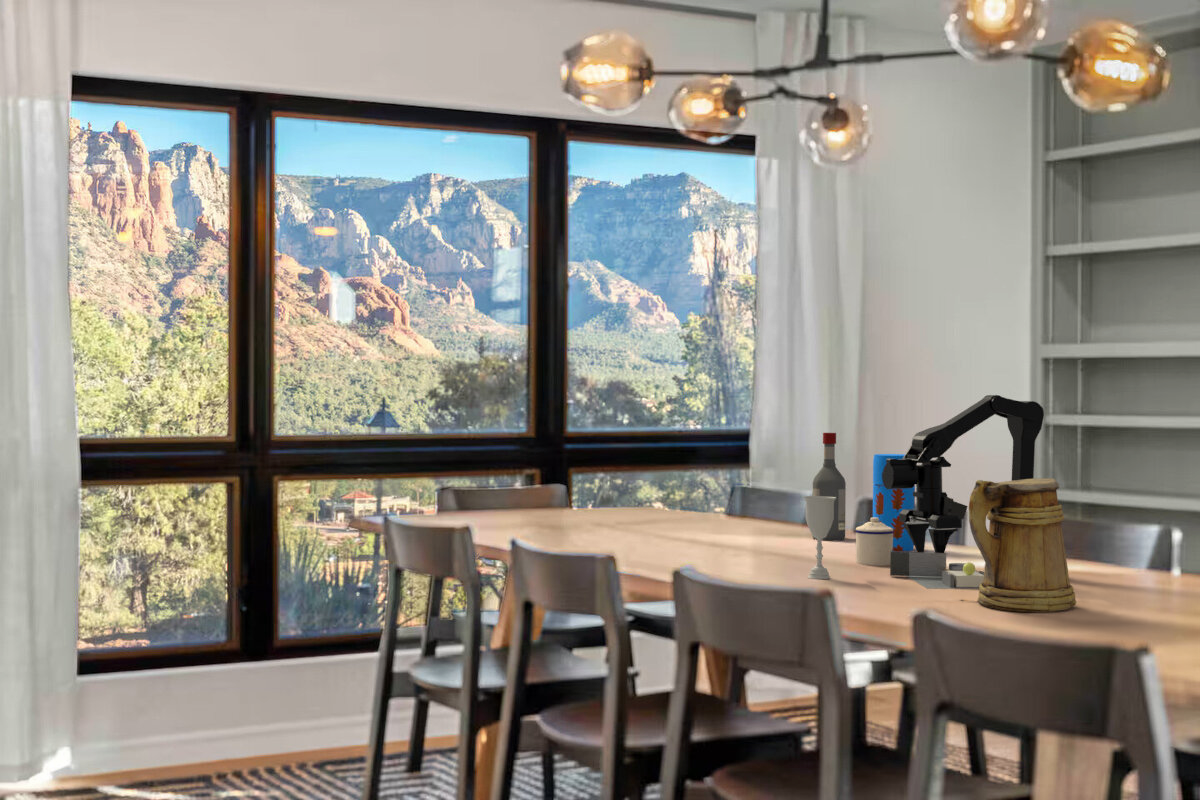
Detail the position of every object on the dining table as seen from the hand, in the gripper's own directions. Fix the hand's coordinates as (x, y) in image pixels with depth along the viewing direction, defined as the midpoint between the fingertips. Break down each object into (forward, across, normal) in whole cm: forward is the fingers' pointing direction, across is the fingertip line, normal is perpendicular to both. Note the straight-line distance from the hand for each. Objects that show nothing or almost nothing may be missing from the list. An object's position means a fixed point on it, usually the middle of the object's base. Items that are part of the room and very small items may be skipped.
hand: (930, 557), depth 316 cm
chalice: (+4, +5, +25) cm, 26 cm away
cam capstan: (+4, -7, +3) cm, 9 cm away
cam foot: (+4, -18, +1) cm, 18 cm away
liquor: (+5, +82, -11) cm, 83 cm away
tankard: (+5, -42, +4) cm, 43 cm away
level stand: (+5, -11, -2) cm, 12 cm away
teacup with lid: (+5, +23, +4) cm, 23 cm away
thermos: (+5, +54, -18) cm, 57 cm away
